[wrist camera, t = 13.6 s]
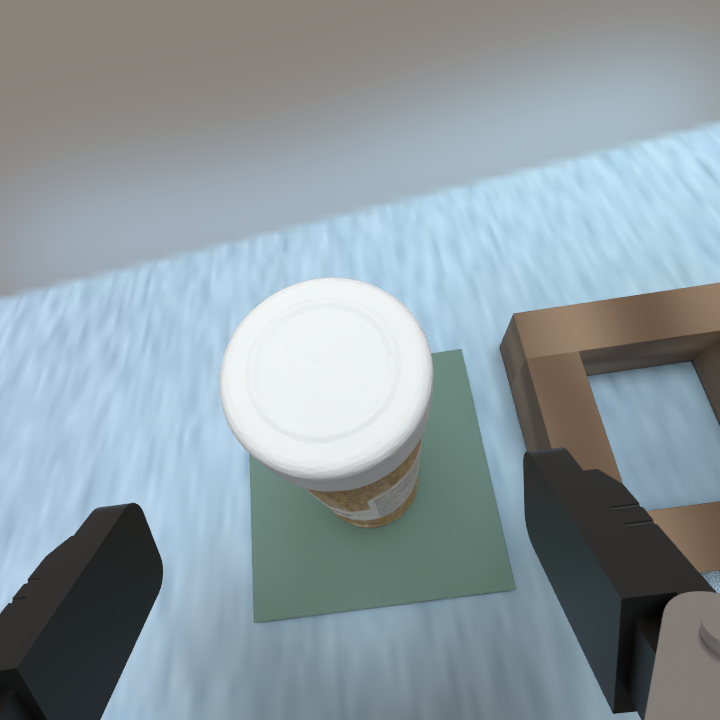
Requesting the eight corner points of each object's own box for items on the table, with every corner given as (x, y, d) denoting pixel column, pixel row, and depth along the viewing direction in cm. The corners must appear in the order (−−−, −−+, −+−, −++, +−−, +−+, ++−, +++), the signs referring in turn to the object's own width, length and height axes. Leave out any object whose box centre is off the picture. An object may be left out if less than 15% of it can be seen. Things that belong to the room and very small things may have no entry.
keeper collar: (719, 314, 24) (767, 275, 21) (832, 548, 20) (915, 545, 16) (499, 346, 24) (513, 313, 21) (561, 582, 20) (591, 586, 17)
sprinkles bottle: (301, 478, 22) (169, 369, 10) (369, 410, 23) (325, 234, 11) (372, 553, 21) (317, 532, 8) (441, 476, 22) (483, 356, 9)
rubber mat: (460, 352, 24) (461, 349, 24) (513, 589, 20) (515, 589, 20) (249, 383, 25) (247, 380, 24) (257, 621, 20) (253, 622, 20)
